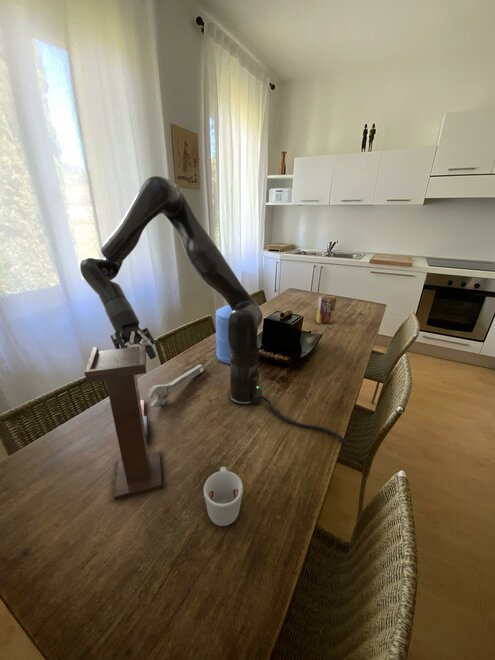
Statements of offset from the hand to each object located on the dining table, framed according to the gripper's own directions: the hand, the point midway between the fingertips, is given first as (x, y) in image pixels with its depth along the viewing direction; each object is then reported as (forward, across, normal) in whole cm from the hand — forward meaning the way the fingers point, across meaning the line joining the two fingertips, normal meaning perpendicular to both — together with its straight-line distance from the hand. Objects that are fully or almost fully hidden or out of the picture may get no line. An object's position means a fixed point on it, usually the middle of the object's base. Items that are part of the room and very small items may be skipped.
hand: (144, 360), depth 86 cm
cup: (+40, -18, -16) cm, 47 cm away
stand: (+27, -18, +1) cm, 32 cm away
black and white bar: (+17, -5, +8) cm, 19 cm away
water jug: (+12, +43, -8) cm, 45 cm away
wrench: (+13, +14, +4) cm, 20 cm away
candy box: (+18, +99, -44) cm, 110 cm away
